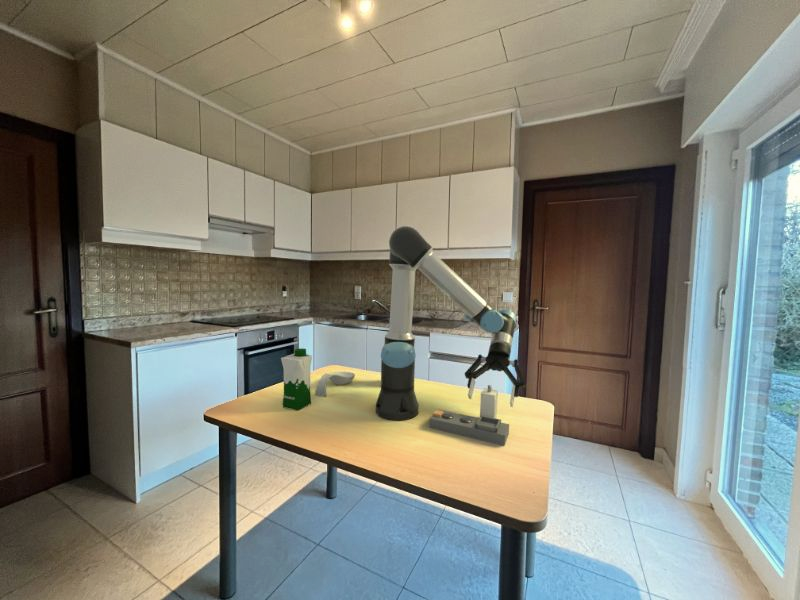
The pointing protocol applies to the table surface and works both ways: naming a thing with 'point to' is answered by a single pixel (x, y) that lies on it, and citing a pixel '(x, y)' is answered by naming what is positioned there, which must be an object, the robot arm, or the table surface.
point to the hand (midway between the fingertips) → (489, 401)
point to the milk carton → (296, 380)
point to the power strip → (471, 426)
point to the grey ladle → (334, 377)
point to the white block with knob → (489, 402)
